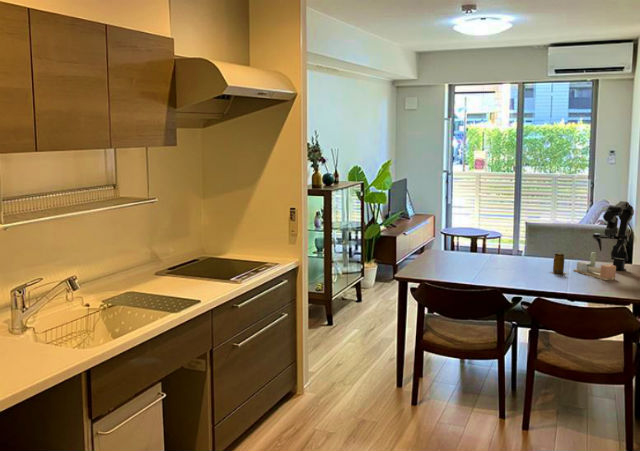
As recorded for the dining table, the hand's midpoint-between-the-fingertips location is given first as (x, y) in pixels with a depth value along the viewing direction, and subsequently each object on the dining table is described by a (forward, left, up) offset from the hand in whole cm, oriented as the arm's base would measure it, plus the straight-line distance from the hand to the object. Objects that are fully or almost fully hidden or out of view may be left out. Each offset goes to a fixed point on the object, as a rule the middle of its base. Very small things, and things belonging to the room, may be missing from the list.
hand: (608, 251), depth 371 cm
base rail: (+2, -8, -16) cm, 18 cm away
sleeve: (+2, -15, -15) cm, 21 cm away
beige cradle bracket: (+2, -11, -14) cm, 18 cm away
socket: (+2, +3, -15) cm, 15 cm away
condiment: (+19, -19, -16) cm, 31 cm away
